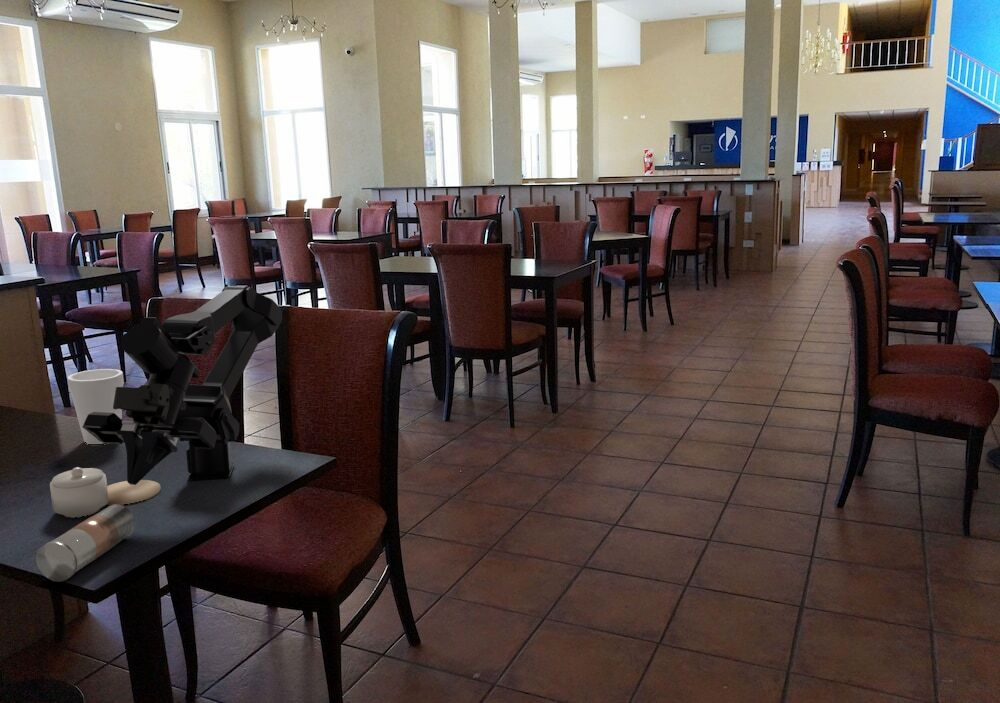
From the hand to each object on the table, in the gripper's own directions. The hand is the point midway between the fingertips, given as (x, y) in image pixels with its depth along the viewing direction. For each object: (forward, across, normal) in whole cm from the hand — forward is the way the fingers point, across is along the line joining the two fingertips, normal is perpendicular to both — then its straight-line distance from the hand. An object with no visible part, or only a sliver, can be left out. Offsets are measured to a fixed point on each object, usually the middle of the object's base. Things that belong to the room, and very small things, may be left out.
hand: (131, 483), depth 115 cm
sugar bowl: (+2, -12, +8) cm, 14 cm away
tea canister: (+5, 0, +1) cm, 5 cm away
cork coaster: (-3, -9, +13) cm, 16 cm away
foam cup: (-19, -30, +30) cm, 47 cm away
